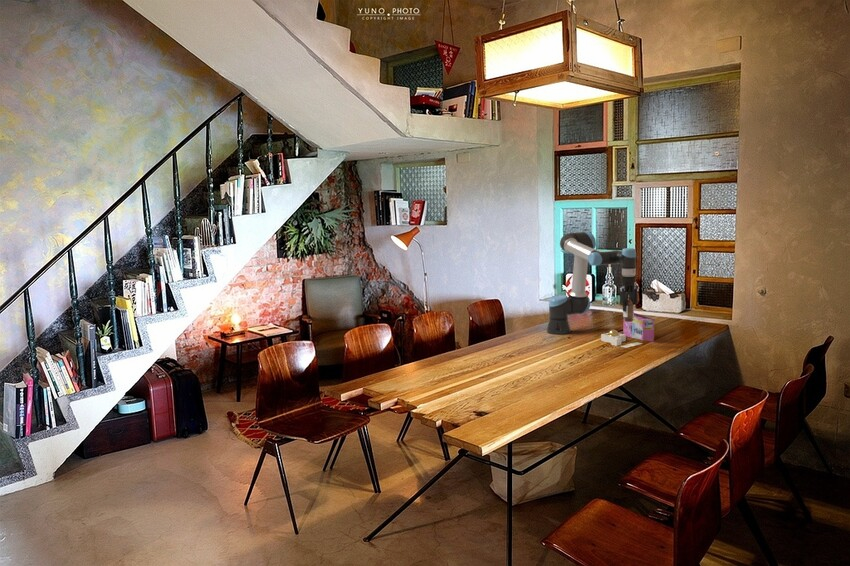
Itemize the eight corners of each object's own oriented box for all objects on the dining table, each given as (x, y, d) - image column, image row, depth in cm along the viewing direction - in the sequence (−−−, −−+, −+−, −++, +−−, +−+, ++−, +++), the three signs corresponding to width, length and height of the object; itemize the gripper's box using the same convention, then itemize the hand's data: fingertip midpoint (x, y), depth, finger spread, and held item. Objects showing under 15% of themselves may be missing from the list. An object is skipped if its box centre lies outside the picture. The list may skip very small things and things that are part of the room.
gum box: (621, 334, 408) (621, 313, 407) (632, 333, 410) (633, 312, 408) (642, 342, 385) (642, 320, 383) (654, 341, 387) (654, 319, 385)
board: (596, 343, 387) (596, 341, 386) (614, 339, 395) (614, 337, 395) (626, 350, 368) (626, 348, 368) (644, 345, 377) (644, 343, 377)
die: (611, 344, 377) (611, 338, 377) (615, 343, 380) (615, 337, 379) (616, 346, 374) (616, 339, 373) (621, 345, 376) (621, 338, 376)
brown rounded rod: (622, 320, 372) (623, 299, 370) (628, 319, 374) (628, 298, 373) (629, 321, 368) (629, 300, 367) (634, 320, 371) (634, 299, 369)
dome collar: (601, 341, 388) (601, 334, 387) (612, 338, 393) (612, 331, 393) (614, 343, 380) (614, 337, 379) (625, 341, 385) (625, 334, 384)
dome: (604, 339, 387) (604, 329, 386) (612, 337, 391) (612, 328, 390) (614, 341, 382) (614, 331, 381) (622, 339, 385) (622, 329, 384)
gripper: (623, 277, 360) (623, 319, 363) (644, 274, 369) (644, 315, 373) (613, 276, 366) (612, 317, 370) (633, 273, 376) (633, 313, 379)
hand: (628, 316), depth 371 cm, fingers closed on brown rounded rod, 4 cm apart
